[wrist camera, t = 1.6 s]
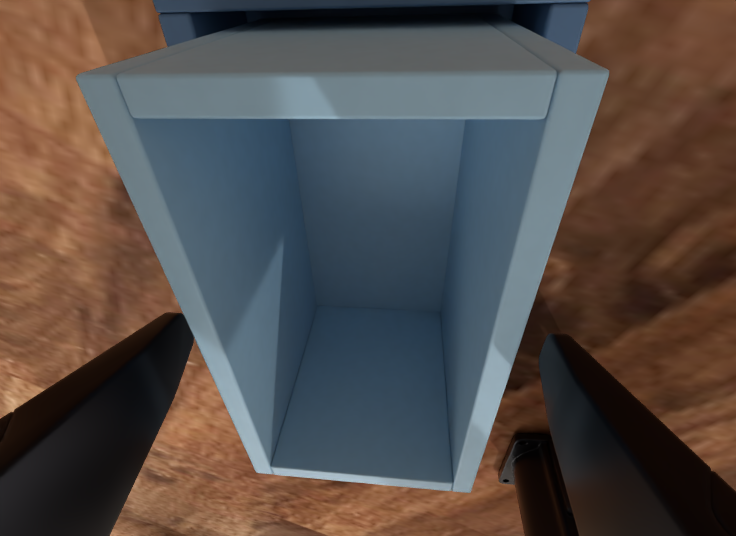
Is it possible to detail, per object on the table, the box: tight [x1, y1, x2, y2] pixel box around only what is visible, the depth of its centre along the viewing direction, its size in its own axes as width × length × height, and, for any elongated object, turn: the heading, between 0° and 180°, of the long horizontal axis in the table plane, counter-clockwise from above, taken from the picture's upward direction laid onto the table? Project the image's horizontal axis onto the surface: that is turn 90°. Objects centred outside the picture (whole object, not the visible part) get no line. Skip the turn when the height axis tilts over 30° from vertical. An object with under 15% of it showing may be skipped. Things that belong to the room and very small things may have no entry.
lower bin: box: [153, 0, 590, 54], centre depth 14 cm, size 14×9×4 cm, turn 1°
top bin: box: [76, 13, 609, 493], centre depth 12 cm, size 12×7×8 cm, turn 1°
